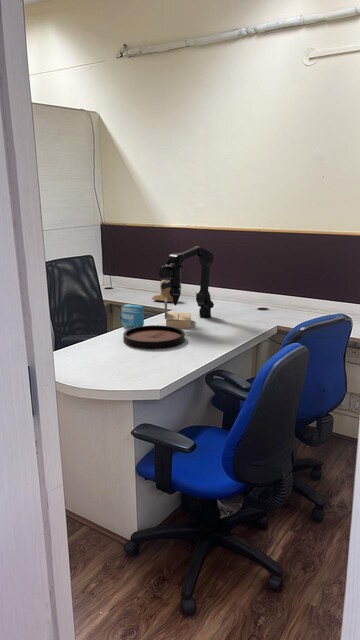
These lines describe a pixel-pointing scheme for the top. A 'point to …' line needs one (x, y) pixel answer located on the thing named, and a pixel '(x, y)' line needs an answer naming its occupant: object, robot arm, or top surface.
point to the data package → (132, 315)
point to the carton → (180, 321)
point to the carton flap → (170, 313)
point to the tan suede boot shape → (163, 294)
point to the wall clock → (154, 337)
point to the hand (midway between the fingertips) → (175, 303)
